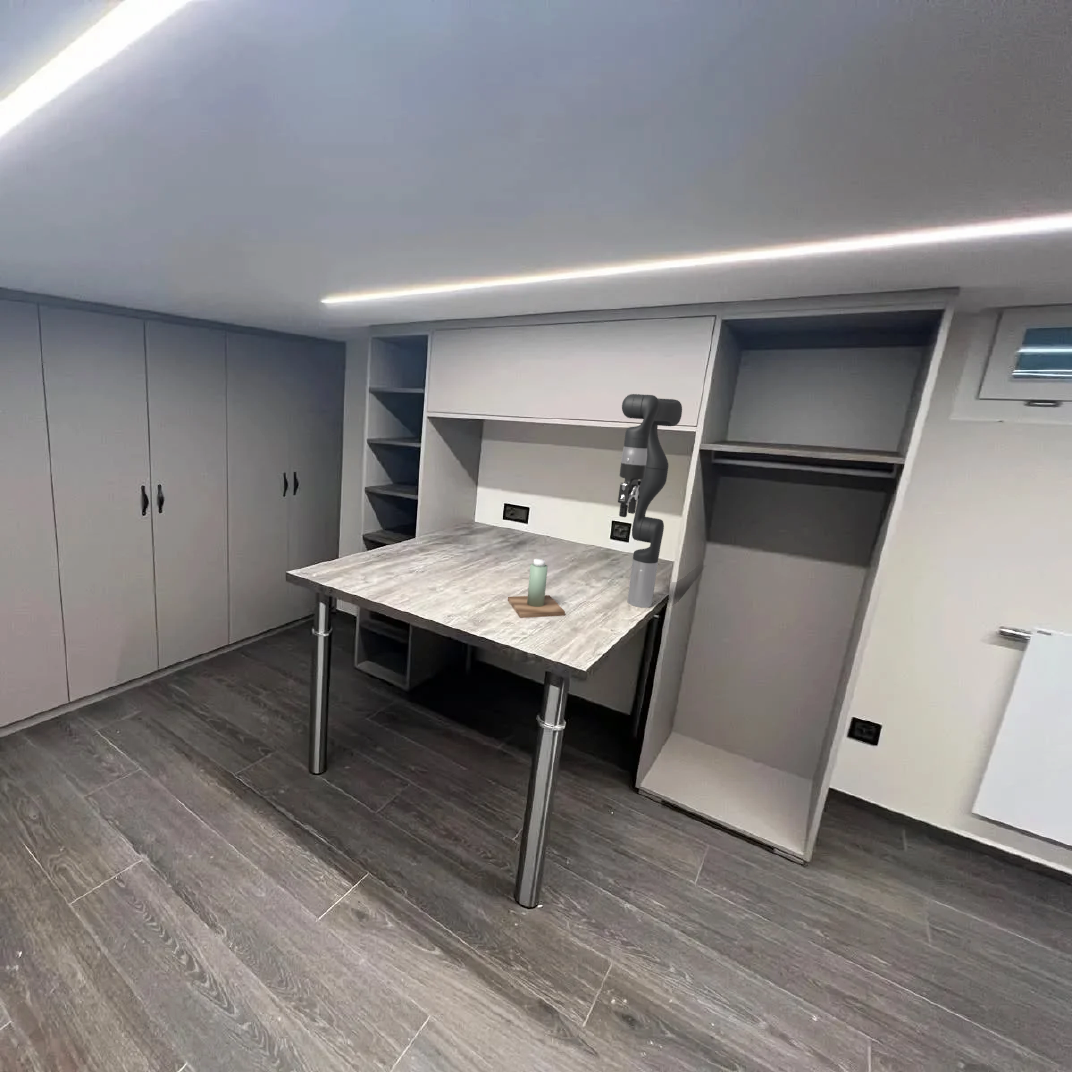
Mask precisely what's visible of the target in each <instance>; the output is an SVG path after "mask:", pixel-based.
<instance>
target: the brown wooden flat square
mask: <svg viewBox="0 0 1072 1072" xmlns="http://www.w3.org/2000/svg"><path fill="white" fill-rule="evenodd" d="M527 598H528V595H519V596H518V595H517V596H515V595H513V596H507V602H508V603H509V605H510V606H511V607H512V609H513V610H514V611H515V613H516V614H517V616H518V618H519V619H525V618H541V617H542V618H543V617H559V616H560V617H562V616H563V617H564V616H566V611H565V610H564V608H562V606H560V604H559V603H558V602H556V600H555V599H554V598H553V597H552V596H551V595H549V594H545V600H544V605H543V606H541V607H534V606H530V605H528V604H527Z"/></svg>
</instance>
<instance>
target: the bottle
mask: <svg viewBox="0 0 1072 1072" xmlns="http://www.w3.org/2000/svg"><path fill="white" fill-rule="evenodd" d="M547 577H548V565H547V564H546V560H545V559H544V558H534V559H533V562H532V563H531V564H530V566H529V579H528V589H527V596H528V598H527V604H528V605H530V606H534V607H541V606H543V605H544V600H545V595H546V588H547V587H546V586H547Z"/></svg>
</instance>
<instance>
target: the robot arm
mask: <svg viewBox="0 0 1072 1072" xmlns="http://www.w3.org/2000/svg"><path fill="white" fill-rule="evenodd" d="M621 410H622V413H623V416H624V417H626V418H628V419H633V420H634V419H636V420H637V419H638V420H642V422H641V423H640V424H639V425H637V426H628V427H627V428H626V430H625V432H624V433H625V434H624V439H623V440H624V442H623V449H622V452H621V457H620V458H621V460H620V468H619V477H620V478H622V479H624V482H620V483H619V489H618V490H619V491H618V497H617V503H618V504H619V505H620V506H619V511H618V513H619V514H618V515H619V517H621V518H627V517H628V514H632V515H634V518H633V521H632V527H631V538H632V539H633V540H634V541H638V542H644V543H648V544H650V545H649V547H646V548H640V549H636V550H634V552H633V554H632V555H633V556H632V563H631V570H630V579H629V584H628V585H629V586H628V591H627V592H628V594H627V603H628V605H631V606H633V607H637V608H642V609H643V608H651V607H652V606H653V600H654V591H655V586H656V585H655V584H656V580H657V579H656V578H657V571H658V565H659V564H658V563H659V557H660V552H661V545H662V540H663V535H664V532H665V531H664V530H665V524H664V520H663V519H661V518H656V517H650V516H646V514H647V510H648V508H649V506H650V505H651V503H652V501H653V500H654V498H655V497H656V496H657V495H658V494H659V493H660V492H661V490H662V489H663V488H665V485H666V483H667V479H668V473H669V472H668V471H669V462H668V458H667V456H666V454H665V452H664V449H663V447H662V445H661V443H660V439H659V434H658V426H660V427H661V426H663V427H675V426H677V425H679V423H680V421H681V419H682V417H683V416H682V415H683V406H682V403H681V401H680V400H679V399H674V398H660V397H659V398H658V397H657V396H656V395H653V394H639V393H638V394H637V393H631V394H627V396H625V398H624V399H623V401H622V404H621Z"/></svg>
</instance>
